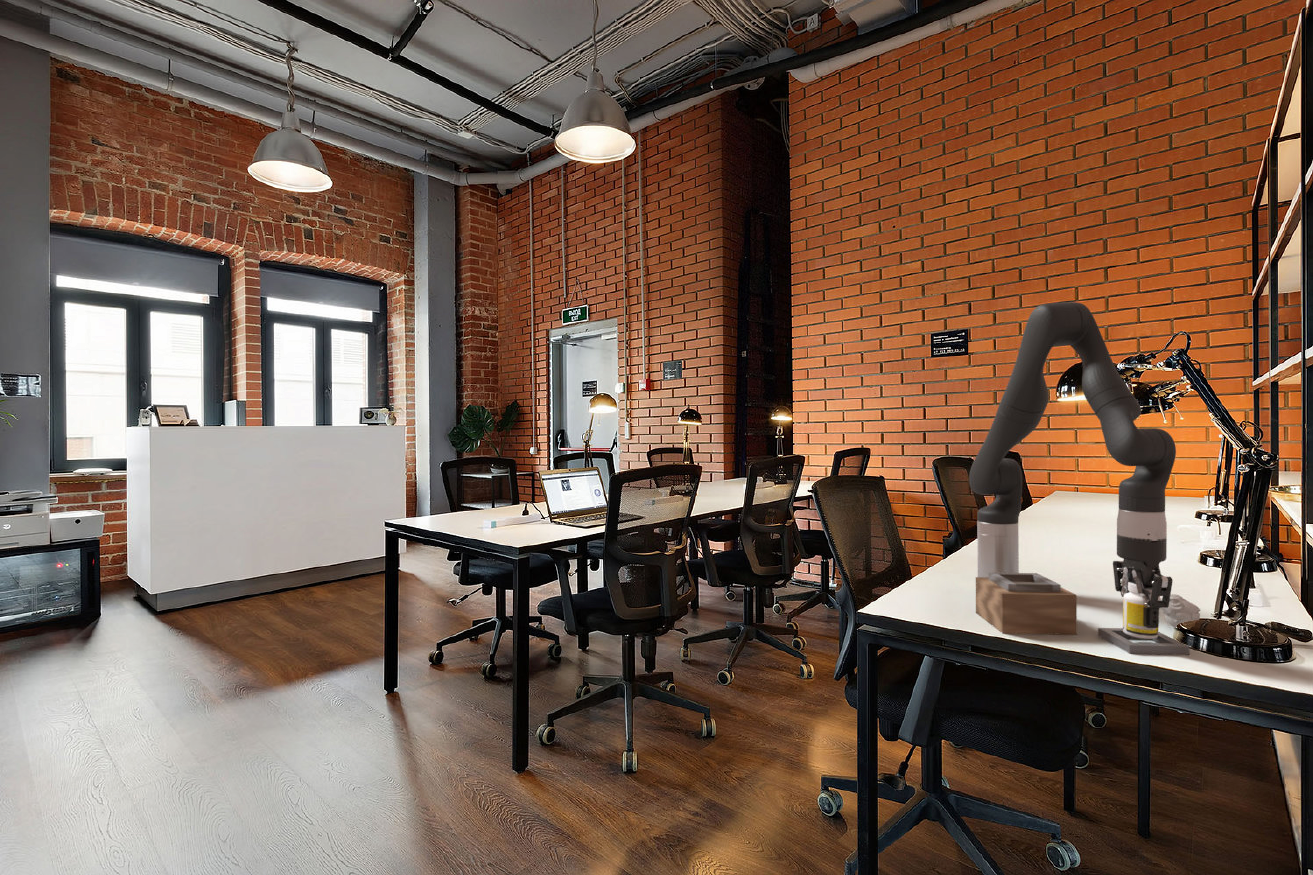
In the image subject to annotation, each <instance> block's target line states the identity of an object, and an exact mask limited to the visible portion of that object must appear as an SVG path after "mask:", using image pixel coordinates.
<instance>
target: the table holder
mask: <svg viewBox="0 0 1313 875" xmlns="http://www.w3.org/2000/svg"><path fill="white" fill-rule="evenodd" d="M1097 631H1098V632H1097V635H1098V636H1099V637H1100V638H1102V639H1104V640H1106V641H1107V642H1109V643H1111V644H1112V645H1114V646H1116V647H1118V648H1119V649H1121V650H1122V651H1125V652H1127V653H1128V654H1133V655H1134V654H1135V655H1136V654H1138V655H1141V654H1142V655H1143V654H1144V655H1145V654H1146V655H1179V656H1180V655H1181V656H1182V655H1183V656H1184V655H1186V656H1187V655H1188V656H1190V646H1188V645H1187V644H1184V643H1182V642H1180V641H1179V640H1176V639H1174V638H1172V637H1170V636H1168V635H1166V634H1164V633H1162V632H1160V631H1158V637H1157V638H1155V639H1150V640H1151V641H1153V642H1133V641H1131V640H1129V639H1132V640H1133V639H1137V640H1138V639H1139V640H1140V639H1141V640H1142V639H1143V638H1136V637H1133V636H1130V635H1127V634H1125V633H1124V632H1123V627H1120V628H1119V627H1098V628H1097ZM1143 640H1144V639H1143Z"/></svg>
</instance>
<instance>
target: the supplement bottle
mask: <svg viewBox="0 0 1313 875" xmlns="http://www.w3.org/2000/svg"><path fill="white" fill-rule="evenodd" d="M1128 590H1129V593H1126V594H1125V595H1124V596H1123V597H1122V598H1123V599H1122V601H1123V602H1122V628H1123V632H1124V633H1125V634H1127V635H1130V636H1133V637H1136V638H1143V640H1144V639H1145V640H1151V639H1155V638H1157V637H1158V632H1159V627H1158V628H1147V627H1145V626H1144V625H1143V607H1145V606H1144V603H1143V599H1142V596H1141V595H1139V594H1138V590H1137V586H1136V584H1134V583H1131V582H1128ZM1145 590H1152V588H1151V589H1145ZM1148 596H1149V600H1151V595H1148Z"/></svg>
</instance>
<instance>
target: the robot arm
mask: <svg viewBox="0 0 1313 875" xmlns="http://www.w3.org/2000/svg"><path fill="white" fill-rule="evenodd" d="M1062 346H1063V347H1064V346H1069V347H1071V348H1072V349H1073V350H1074V351H1075V353H1076V354H1077V355H1078V356H1079V359H1080V360H1081V364H1082V376H1081V387H1082V392H1083V395H1084V398H1085V399H1086V401H1087V403H1088V404H1089V406H1090V408H1091V409H1092V411H1093V413H1094V414H1095V416H1096V418H1097V419H1098V420H1099V423H1100V427H1101V431H1102V435H1103V439H1104V442H1105V447H1106V450H1107V451H1108V453H1109V455H1110V456H1111V458H1113V459H1114V460H1115V462H1117V463H1119V464H1120V465H1123V466H1127V467H1135V469H1134V471H1133V474H1132V475H1131V476H1130V477H1128V478H1127V477H1126V478H1125V479H1123V480H1121V481H1120V483H1119V484H1118V511H1117V517H1116V555H1117V557H1119V558H1121V559H1123V560H1113V561H1112V570H1113V577H1114V589H1115V591H1116V592H1120V595H1121V597H1122V598H1123V596H1124V595H1125V594H1126V593H1129V590H1128V582H1131V583H1134V584H1136V586H1137V590H1138V594H1139V595H1141V596H1142V599H1143V603H1144V606H1145V607H1143V625H1144V626H1145V627H1147V628H1158V629H1159V625H1160V624H1159V623H1160V610H1161V609H1160V608H1168V607H1169V601H1170V595H1171V594H1172V587H1173V581H1174V580H1173V578H1172V576H1167V575H1166V576H1164V575H1163V574H1162V572H1161V569H1160V563H1162V562H1165V561H1166V560H1167V551H1168V550H1167V549H1168V548H1167V546H1168V545H1167V544H1168V543H1167V540H1168V539H1167V538H1168V537H1167V535H1168V533H1167V532H1168V531H1167V526H1168V524H1167V517H1166V516H1167V515H1166V487H1167V485H1168V484H1169V480H1170V477H1171V474H1172V471H1173V467H1174V464H1175V461H1176V455H1177V446H1176V443H1175V440H1174V439H1173V437H1172V435H1171V434H1170V433H1169V432H1168V431H1166V430H1164V429H1161V428H1157V427H1156V428H1152V427H1151V428H1138V427H1137V426H1136V423H1135V422H1134V421H1136V420H1137V419H1138V418H1139V417H1140V416H1141V414H1142V408H1141V405H1140V403H1139V402H1138V400H1137V399H1136V397H1135V396H1134V394H1133V392H1132V391H1131V390H1130V388H1129V387H1128V386H1127V384H1126V382H1125V381H1124V379H1123V378H1122V377H1121V375H1120V373H1119V372H1118V370H1117V367H1116V366H1115V364H1114V362H1113V360H1112V357H1111V355H1110V352H1109V350H1108V347H1107V345H1106V343H1105V340H1104V338H1103V336H1102V334H1101V331H1100V329H1099V326H1098V324H1097V321H1096V320H1095V317H1094V315H1093V314H1092V311H1091V310H1090V309H1089V307H1088V306H1086V305H1085V304H1084V303H1082V302H1078V301H1077V302H1076V301H1067V302H1066V301H1065V302H1062V301H1061V302H1049V303H1044V304H1043V303H1042V304H1039V305H1037V306H1036V307H1035V308H1034V309H1033V310H1032V311H1031V313H1030V315H1029V317H1028V318H1027V321H1026V325H1025V328H1024V330H1023V334H1022V338H1021V342H1020V347H1019V350H1018V354H1017V357H1016V360H1015V363H1014V366H1013V369H1012V372H1011V376H1010V378H1009V380H1008V383H1007V385H1006V388H1005V390H1004V393H1003V394H1002V397H1001V400H1000V402H999V405H998V408H997V410H996V413H995V417H994V419H993V421H992V423H991V426H990V428H989V431H988V433H987V436H986V438H985V439H984V442H983V444H982V445H981V447H980V449H979V451H978V453H977V454H976V457H975V458H974V460H973V462H972V465H971V468H970V471H969V476H968V483H969V487H970V489H971V490H972V491H973V493H975V494H977V495H982V496H996V497H995V499H994V500H993V502H991V503H989V504H988V505H986V506H983V507H981V508H980V509H978V510H977V513H976V514H977V515H976V516H977V517H976V519H977V520H976V521H977V523H976V526H977V529H976V530H977V534H976V535H977V536H976V537H977V577H989V573H1020V570H1019V567H1020V565H1019V564H1020V560H1019V559H1020V557H1019V556H1020V553H1019V550H1020V548H1019V546H1020V545H1019V544H1020V543H1019V537H1020V536H1019V535H1020V534H1019V516H1020V514H1021V511H1022V510H1021V509H1022V494H1023V472H1022V469H1021V466H1020V464H1019V462H1017V461H1016V459H1012V458H1006V457H1005V456H1007V454H1008V453H1009V452H1010V451H1011V450H1012V449H1013V448H1014V447H1015V446H1016V445H1018V444H1019V443H1020V442H1021V441H1023V440H1025V439H1026V438H1027V437H1028V436H1029V435H1030V434H1031V433H1033V431H1035V429H1037V427H1038V425H1039V424H1040V422H1041V420H1042V417H1043V416H1044V413H1045V411H1046V409H1047V407H1048V403H1049V391H1048V386H1047V383H1046V379H1045V375H1044V368H1045V363H1046V361H1047V359H1048V355H1049V354H1050V352H1051V350H1052V348H1053V347H1062ZM1151 588H1152V590H1145V589H1151ZM1148 595H1151V600H1149V596H1148ZM1161 598H1162V601H1161Z"/></svg>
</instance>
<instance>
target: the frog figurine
mask: <svg viewBox="0 0 1313 875" xmlns="http://www.w3.org/2000/svg"><path fill="white" fill-rule="evenodd" d="M1160 598H1161V601H1162V597H1160ZM1159 610H1160V611H1161V612H1162V613H1163V614H1164V616H1165V617H1164V618H1165V620H1166V622H1167V623H1168V625H1170V626H1171V627H1172V628H1174V629H1176V627H1177V625H1178V624H1179V623H1184V622H1188V621H1194V620H1198V621H1199V620H1200V617H1201V608H1199V607H1198V606H1197V605H1196V604H1194V603H1192V602H1190V601H1188V600H1187V599H1185V598H1183V597H1182V596H1181V595H1179V594H1174V593H1171V595H1170V601H1169V607H1168V608H1160V609H1159Z"/></svg>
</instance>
